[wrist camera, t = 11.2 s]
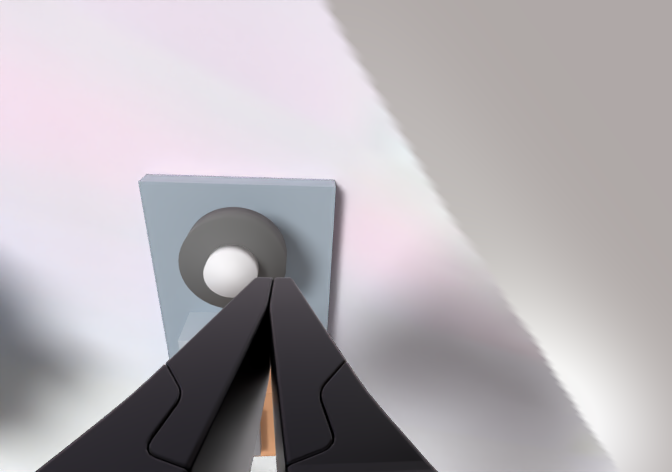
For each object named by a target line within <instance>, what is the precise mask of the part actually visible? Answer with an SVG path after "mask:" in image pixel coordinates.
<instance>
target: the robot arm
mask: <svg viewBox="0 0 672 472" xmlns="http://www.w3.org/2000/svg"><path fill="white" fill-rule="evenodd" d="M270 367H271V388H272V403H273V418H274V433H275V449H276V464H277V472H438V471H437V470H436V469H435V468H434V467H433V466H432V465H431V464H430V463H429V462H428V461H427V460H426V459H425V457H424V456H423V455H422V454H421V453H420V452H419V451H418V449H417V448H416V447H415V446H414V445H413V444H412V443H411V441H410V440H409V439H408V438H407V437H406V436H405V435H404V433H403V432H402V431H401V430H400V429H399V428H398V427H397V426H396V424H395V423H394V422H393V421H392V420H391V419H390V418H389V416H388V415H387V414H386V413H385V412H384V411H383V409H382V408H381V407H380V406H379V405H378V403H377V402H376V401H375V400H374V399H373V397H372V396H371V395H370V394H369V393H368V391H367V390H366V388H365V387H364V386H363V384H362V383H361V381H360V380H359V379H358V377H357V376H356V374H355V373H354V371H353V370H352V368H351V367H350V365H349V364H348V363H347V361H346V359H345V358H344V356H343V355H342V353H341V352H340V350H339V349H338V347H337V346H336V344H335V343H334V341H333V340H332V338H331V337H330V335H329V334H328V332H327V331H326V329H325V328H324V326H323V324H322V323H321V321H320V320H319V318H318V317H317V315H316V314H315V312H314V311H313V309H312V308H311V306H310V305H309V303H308V302H307V300H306V299H305V297H304V296H303V294H302V293H301V291H300V290H299V288H298V287H297V285H296V284H295V282H294V281H293V279H292V278H290V277H277V278H275V279H274V280H273V278H271V277H256V278H254V279H253V280H252V281H251V282H250V283H249V284H248V285H247V286H246V287H245V288H244V289H243V290H242V291H241V292H240V293H239V294H238V295H237V296H235V297H234V298H233V299H232V300H231V301H230V302H229V303H228V304H227V305H226V306H225V307H224V308H223V309H222V310H221V311H220V312H219V313H218V314H217V315H216V316H214V317H213V318H212V319H211V320H210V321H209V322H208V323H207V324H206V325H205V326H204V327H203V328H202V329H201V330H200V331H199V332H198V333H197V334H196V335H195V336H194V337H192V338H191V339H190V340H189V341H188V342H187V343H186V344H185V345H184V346H183V347H182V348H181V349H180V350H179V351H178V352H177V353H176V354H175V355H174V356H173V357H171V358H170V359H169V360H168V361H167V362H166V365H163V366H162V367H161V368H160V369H159V370H158V371H157V372H156V373H154V374H153V375H152V376H151V377H150V378H149V379H148V380H147V381H146V382H145V383H144V384H143V385H141V386H140V387H139V388H138V389H137V390H136V391H135V392H134V393H133V394H131V395H130V396H129V397H128V398H127V399H126V400H124V401H123V402H122V403H121V404H120V405H118V406H117V407H116V408H115V409H113V410H112V411H111V412H110V413H109V414H107V415H106V416H105V417H104V418H103V419H101V420H100V421H99V422H97V423H96V424H95V425H94V426H92V427H91V428H90V429H89V430H87V431H86V432H85V433H84V434H82V435H81V436H80V437H79V438H77V439H76V440H75V441H73V442H72V443H71V444H70V445H68V446H67V447H66V448H65V449H63V450H62V451H61V452H60V453H58V454H57V455H56V456H54V457H53V458H52V459H51V460H49V461H48V462H47V463H46V464H44V465H43V466H42V467H41V468H39V469H38V470H37V471H36V472H250V471H251V466H252V461H253V456H254V451H255V446H256V441H257V436H258V431H259V426H260V421H261V416H262V411H263V406H264V401H265V396H266V391H267V386H268V381H269V375H270Z"/></svg>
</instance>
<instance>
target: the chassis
mask: <svg viewBox="0 0 672 472" xmlns="http://www.w3.org/2000/svg"><path fill="white" fill-rule="evenodd" d="M138 183H139V188H140V194H141V200H142V205H143V211H144V217H145V223H146V228H147V234H148V240H149V245H150V251H151V257H152V262H153V268H154V274H155V280H156V285H157V291H158V297H159V302H160V308H161V314H162V320H163V325H164V331H165V337H166V342H167V348H168V354H169V359H170V358H171V357H173V356H174V355H175V354H176V353H177V352H178V351H179V350H180V349H181V348H182V347H183V346H184V345H185V344H186V343H187V342H188V341H189V340H190V339H191V338H192V337H194V336H195V335H196V334H197V333H198V332H199V331H200V330H201V329H202V328H203V327H204V326H205V325H206V324H207V323H208V322H209V321H210V320H211V319H212V318H213V317H214V316H216V315H217V314H218V313H219V312H220V311H221V310H222V309H223V308H220V307H216V306H214V305H211V304H209V303H207V302H205V301H203V300H202V299H200V298H198V297H197V296H196V295H195V294H194V293H193V292H192V291H191V290H190V289H189V288H188V287H187V285H186V284H185V282H184V280H183V279H182V276H181V274H180V270H179V263H178V259H179V252H180V248H181V246H182V244H183V242H184V240H185V239H186V237H187V235H188V233H189V232H190V230H191V229H192V227H193V225H194V224H195V223H196V222H197V221H198V220H199V219H200V218H201V217H202V216H204V215H206V214H207V213H209V212H211V211H214V210H217V209H220V208H225V207H242V208H247V209H250V210H253V211H256V212H258V213H260V214H262V215H264V216H265V217H267V218H268V219H270V220H271V221H272V222H273V223H274V224H275V225H276V226H277V227H278V229H279V230H280V232H281V233H282V235H283V237H284V240H285V243H286V247H287V261H286V274H285V277H290V278H292V279H293V281H294V282H295V284H296V285H297V287H298V288H299V290H300V291H301V293H302V294H303V296H304V297H305V299H306V300H307V302H308V303H309V305H310V306H311V308H312V309H313V311H314V312H315V314H316V315H317V317H318V318H319V320H320V321H321V323H322V324H323V326H324V328H325V329H326V331H327V327H328V310H329V294H330V277H331V260H332V244H333V227H334V210H335V194H336V185H335V181H334V180H323V179H290V178H256V177H223V176H189V175H156V174H146V175H145V176H144V177H143V178H142V179H141V180H139V181H138Z"/></svg>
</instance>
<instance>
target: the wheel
mask: <svg viewBox="0 0 672 472" xmlns="http://www.w3.org/2000/svg"><path fill="white" fill-rule="evenodd" d="M286 261H287V247H286V243H285V240H284V237H283V235H282V233H281V232H280V230H279V229H278V227H277V226H276V225H275V224H274V223H273V222H272V221H271V220H270V219H268V218H267V217H265V216H264V215H262V214H260V213H258V212H256V211H253V210H250V209H247V208H242V207H225V208H220V209H217V210H214V211H211V212H209V213H207V214H206V215H204V216H202V217H201V218H200V219H199V220H198V221H197V222H196V223H195V224H194V225H193V227H192V229H191V230H190V232H189V233H188V235H187V237H186V239H185V240H184V242H183V244H182V246H181V248H180V252H179V259H178V263H179V270H180V274H181V276H182V279H183V280H184V282H185V284H186V285H187V287H188V288H189V289H190V290H191V291H192V292H193V293H194V294H195V295H196V296H197V297H198V298H200V299H202V300H203V301H205V302H207V303H209V304H211V305H214V306H216V307H220V308H224V307H225V306H226V305H227V304H228V303H229V302H230V301H231V300H232V299H233V298H234V297H235V296H237V295H238V294H239V293H240V292H241V291H242V290H243V289H244V288H245V287H246V286H247V285H248V284H249V283H250V282H251V281H252V280H253V279H254V278H256V277H271V278H273V280H274V279H275V278H277V277H285V274H286Z"/></svg>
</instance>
